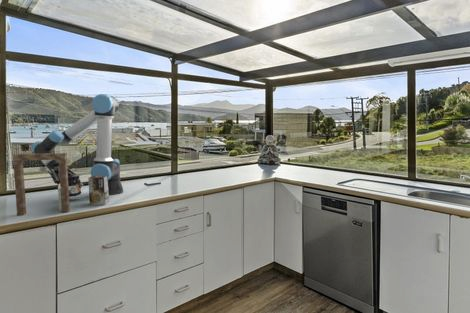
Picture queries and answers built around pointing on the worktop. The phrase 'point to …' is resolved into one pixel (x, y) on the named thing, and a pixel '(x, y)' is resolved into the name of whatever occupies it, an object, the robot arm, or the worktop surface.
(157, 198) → the worktop surface
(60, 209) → the door
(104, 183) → the coffee box
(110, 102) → the robot arm
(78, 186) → the supplement container
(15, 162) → the door frame
